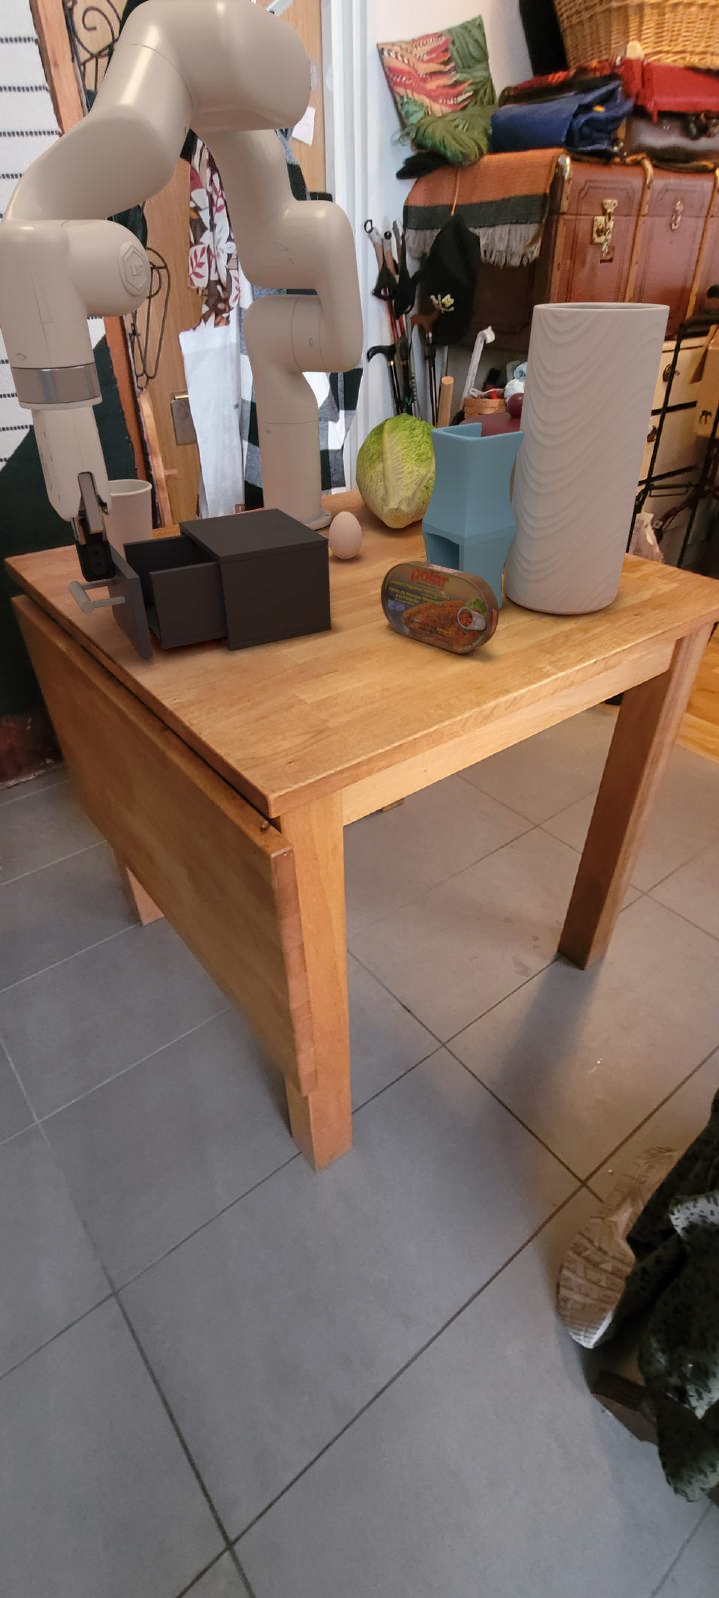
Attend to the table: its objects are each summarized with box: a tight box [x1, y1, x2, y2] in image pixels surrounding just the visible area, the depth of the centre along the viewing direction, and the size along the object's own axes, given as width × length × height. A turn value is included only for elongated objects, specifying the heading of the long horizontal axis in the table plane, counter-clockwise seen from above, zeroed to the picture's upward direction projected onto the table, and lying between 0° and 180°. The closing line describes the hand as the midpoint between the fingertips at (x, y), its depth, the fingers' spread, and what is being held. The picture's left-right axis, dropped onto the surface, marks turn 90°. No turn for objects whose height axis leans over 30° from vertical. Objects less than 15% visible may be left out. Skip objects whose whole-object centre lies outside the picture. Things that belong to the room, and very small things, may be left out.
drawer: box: [67, 534, 227, 660], centre depth 86 cm, size 16×13×9 cm
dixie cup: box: [103, 478, 154, 561], centre depth 110 cm, size 8×8×10 cm
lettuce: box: [355, 412, 437, 529], centre depth 126 cm, size 15×24×16 cm
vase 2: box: [503, 301, 671, 616], centre depth 89 cm, size 14×14×32 cm
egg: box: [327, 510, 363, 560], centre depth 110 cm, size 5×5×7 cm
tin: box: [380, 560, 500, 654], centre depth 85 cm, size 15×3×8 cm, turn 47°
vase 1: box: [421, 422, 525, 609], centre depth 91 cm, size 8×8×20 cm
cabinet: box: [178, 508, 332, 651], centre depth 90 cm, size 13×15×11 cm
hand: (99, 577), depth 83 cm, fingers closed
